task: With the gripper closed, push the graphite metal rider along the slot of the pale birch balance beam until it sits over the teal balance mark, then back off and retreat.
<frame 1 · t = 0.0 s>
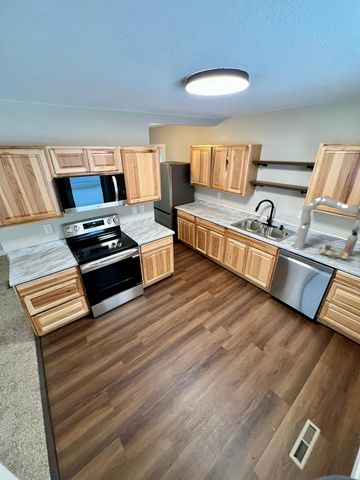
hand: (353, 233, 203), 31 cm above the worktop, fingers open, 9 cm apart
thermos bottle: (345, 255, 224), on the worktop
beam: (331, 257, 221), on the worktop
rider: (327, 248, 220), point 9 cm above the worktop, slide at -6.0 cm
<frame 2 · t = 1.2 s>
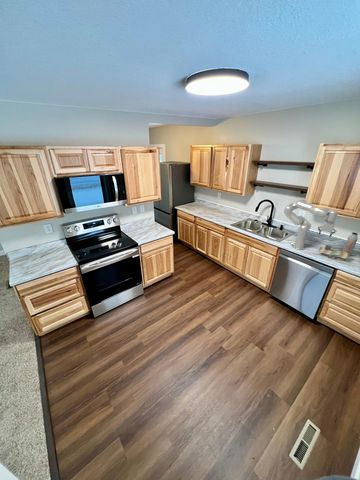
hand: (324, 235, 217), 24 cm above the worktop, fingers open, 9 cm apart
nothing on the worktop moved.
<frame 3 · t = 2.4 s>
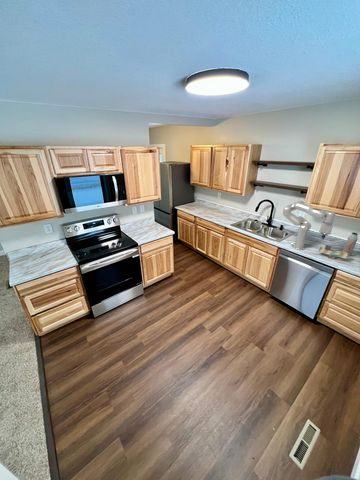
hand: (323, 238, 219), 21 cm above the worktop, fingers closed
nothing on the worktop moved.
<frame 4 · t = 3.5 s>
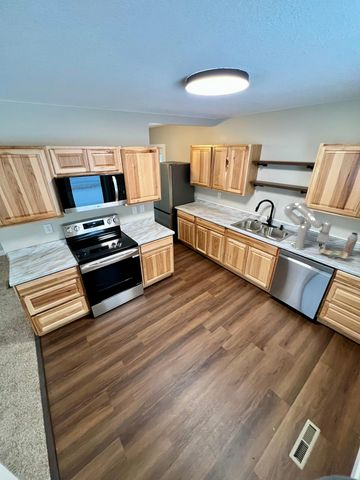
hand: (319, 246, 224), 10 cm above the worktop, fingers closed
nothing on the worktop moved.
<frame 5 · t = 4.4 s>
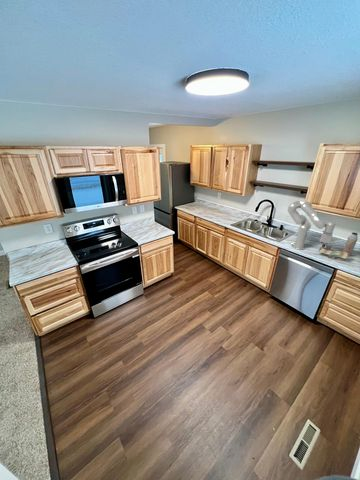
hand: (323, 247, 222), 10 cm above the worktop, fingers closed
rider: (328, 248, 220), point 9 cm above the worktop, slide at -5.5 cm, touching gripper
everything else where it was.
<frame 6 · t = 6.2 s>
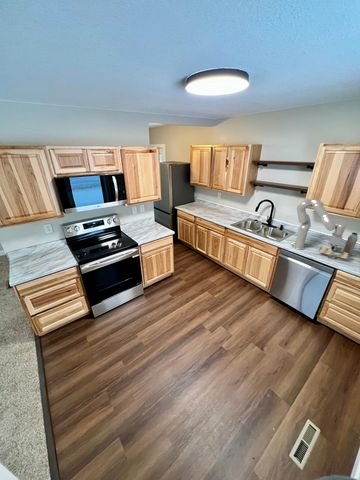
hand: (332, 249, 217), 10 cm above the worktop, fingers closed
rider: (337, 251, 215), point 9 cm above the worktop, slide at 3.1 cm, touching gripper
everything else where it was.
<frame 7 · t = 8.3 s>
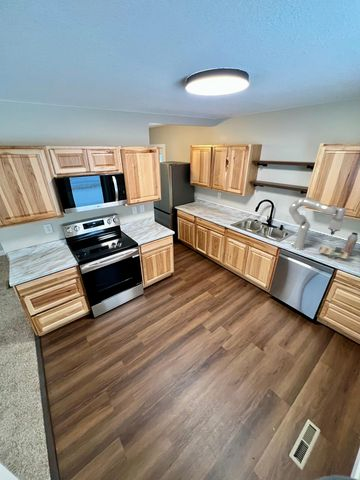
hand: (331, 234, 214), 26 cm above the worktop, fingers closed
rider: (337, 251, 215), point 9 cm above the worktop, slide at 3.3 cm
everything else where it was.
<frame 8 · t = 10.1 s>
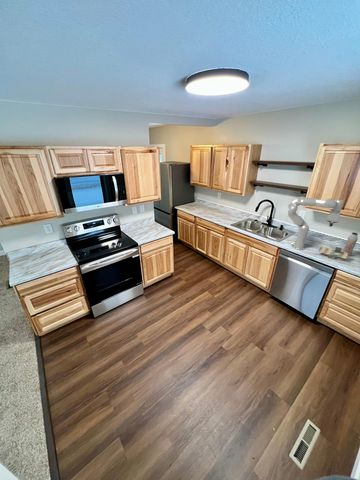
hand: (330, 226, 220), 32 cm above the worktop, fingers closed
nothing on the worktop moved.
at the end: rider slide at 3.3 cm; rider touching nothing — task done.
